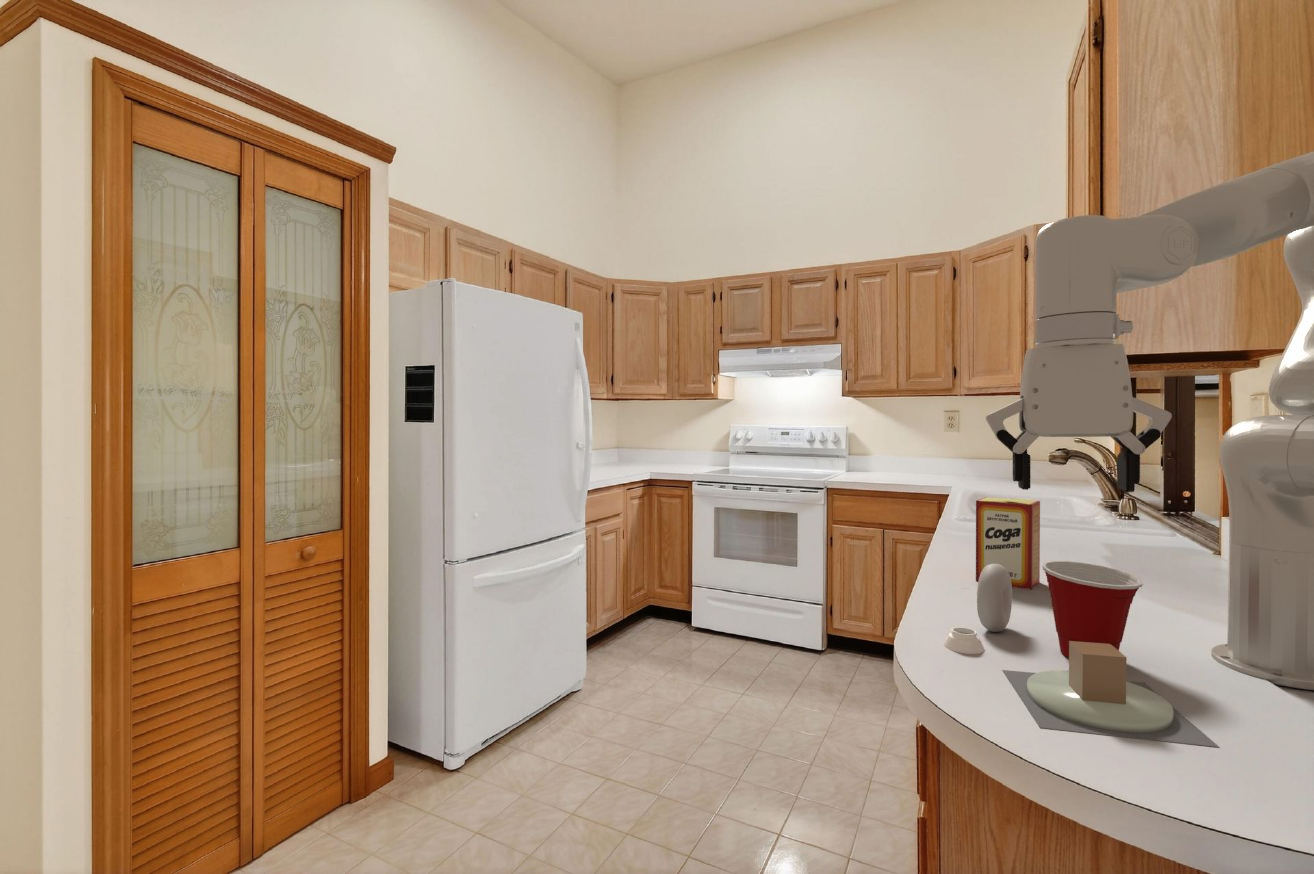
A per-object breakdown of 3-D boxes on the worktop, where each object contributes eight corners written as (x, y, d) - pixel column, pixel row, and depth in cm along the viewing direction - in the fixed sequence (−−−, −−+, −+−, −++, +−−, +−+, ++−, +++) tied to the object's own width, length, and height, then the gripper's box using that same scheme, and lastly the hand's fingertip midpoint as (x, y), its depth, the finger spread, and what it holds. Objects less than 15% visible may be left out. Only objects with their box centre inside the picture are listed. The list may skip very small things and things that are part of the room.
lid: (1138, 684, 73) (1139, 633, 73) (1200, 740, 61) (1201, 679, 61) (1013, 673, 77) (1013, 624, 77) (1048, 724, 64) (1048, 666, 64)
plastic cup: (1132, 686, 74) (1133, 585, 74) (1030, 661, 82) (1030, 569, 82) (1150, 661, 82) (1151, 569, 81) (1054, 640, 90) (1055, 556, 89)
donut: (989, 619, 99) (989, 556, 99) (1014, 624, 97) (1014, 559, 96) (973, 637, 91) (973, 568, 91) (1000, 642, 89) (1000, 572, 89)
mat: (1144, 687, 74) (1144, 682, 74) (1219, 753, 59) (1219, 747, 59) (1002, 674, 78) (1002, 669, 78) (1040, 733, 64) (1040, 727, 64)
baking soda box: (975, 581, 122) (976, 498, 122) (985, 574, 127) (985, 495, 126) (1031, 589, 116) (1032, 502, 115) (1039, 582, 121) (1040, 499, 120)
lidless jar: (970, 644, 89) (936, 646, 88) (970, 624, 89) (936, 625, 88) (992, 658, 84) (957, 660, 83) (992, 636, 84) (957, 638, 83)
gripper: (1156, 333, 70) (1155, 487, 70) (982, 342, 76) (982, 484, 77) (1185, 324, 63) (1184, 495, 63) (990, 335, 69) (990, 491, 70)
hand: (1073, 489), depth 70 cm, fingers open, 9 cm apart
